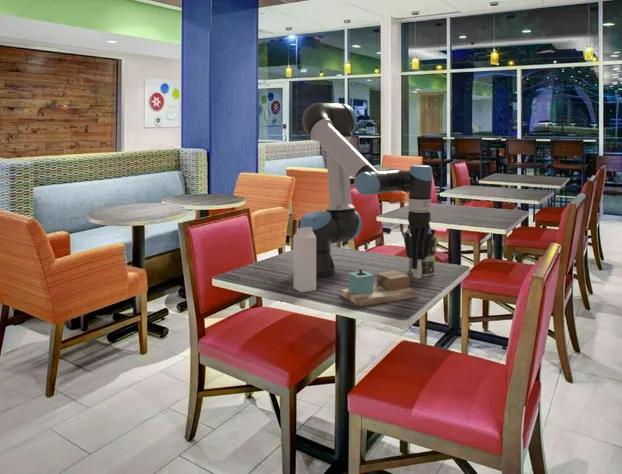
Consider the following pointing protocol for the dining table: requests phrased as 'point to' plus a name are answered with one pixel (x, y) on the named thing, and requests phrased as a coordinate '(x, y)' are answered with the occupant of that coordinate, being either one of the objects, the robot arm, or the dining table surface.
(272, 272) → the dining table surface
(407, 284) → the block
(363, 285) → the teal hollow cube
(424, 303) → the dining table surface
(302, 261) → the milk
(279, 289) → the dining table surface
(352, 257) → the dining table surface
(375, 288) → the base board
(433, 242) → the coffee can
